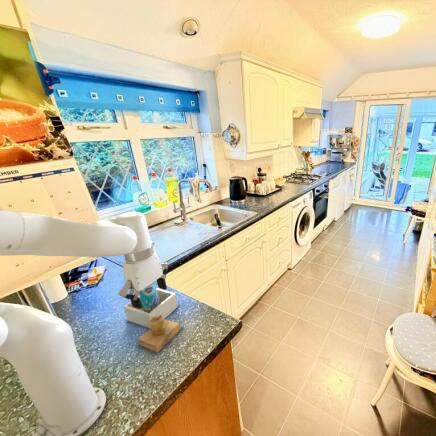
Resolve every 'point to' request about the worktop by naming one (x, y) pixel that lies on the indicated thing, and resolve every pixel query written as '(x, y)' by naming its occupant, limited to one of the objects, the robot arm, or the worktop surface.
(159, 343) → the flat wooden block
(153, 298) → the beverage can
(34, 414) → the worktop surface
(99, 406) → the robot arm
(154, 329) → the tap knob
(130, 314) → the white open box
